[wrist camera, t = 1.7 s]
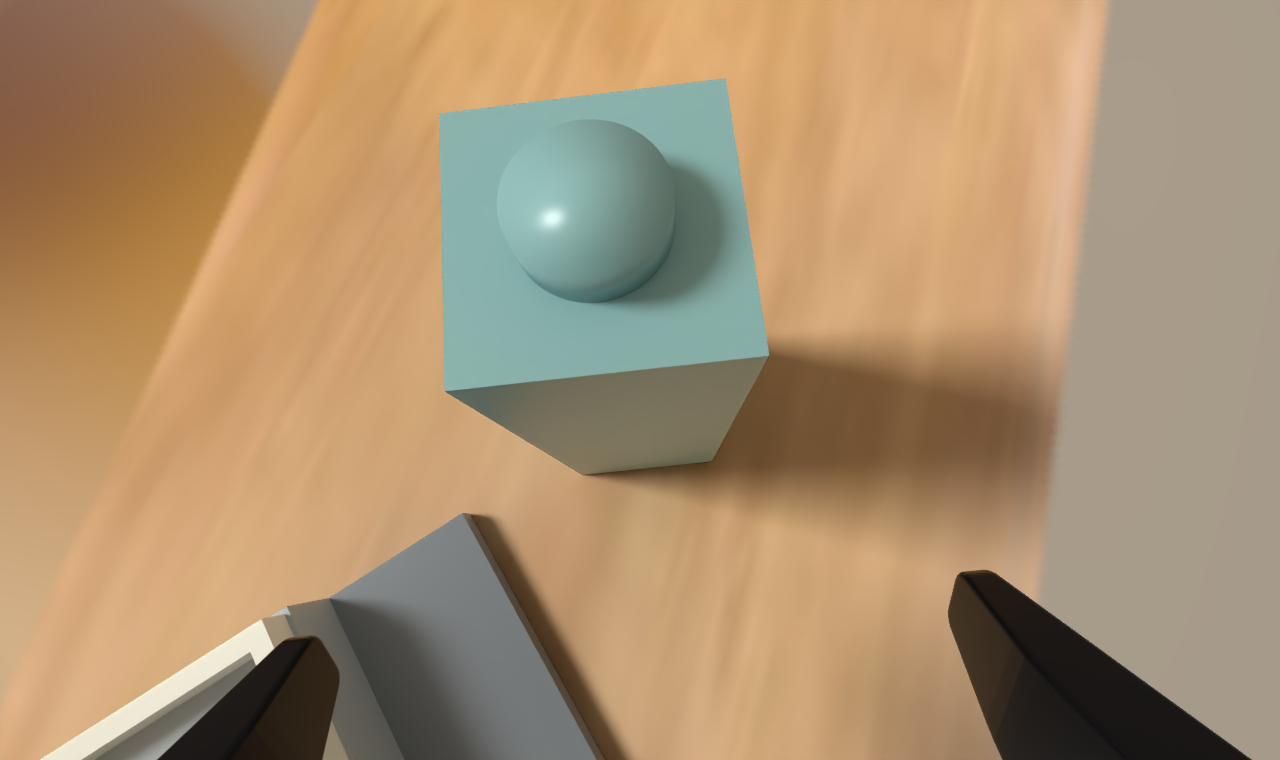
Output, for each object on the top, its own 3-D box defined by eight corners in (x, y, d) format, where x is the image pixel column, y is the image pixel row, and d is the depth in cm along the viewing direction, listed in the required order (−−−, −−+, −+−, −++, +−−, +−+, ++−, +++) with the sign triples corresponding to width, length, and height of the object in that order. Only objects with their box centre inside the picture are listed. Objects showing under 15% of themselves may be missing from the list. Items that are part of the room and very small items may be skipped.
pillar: (711, 461, 21) (779, 337, 7) (582, 474, 21) (421, 376, 8) (695, 338, 22) (730, 37, 9) (573, 351, 22) (418, 75, 9)
